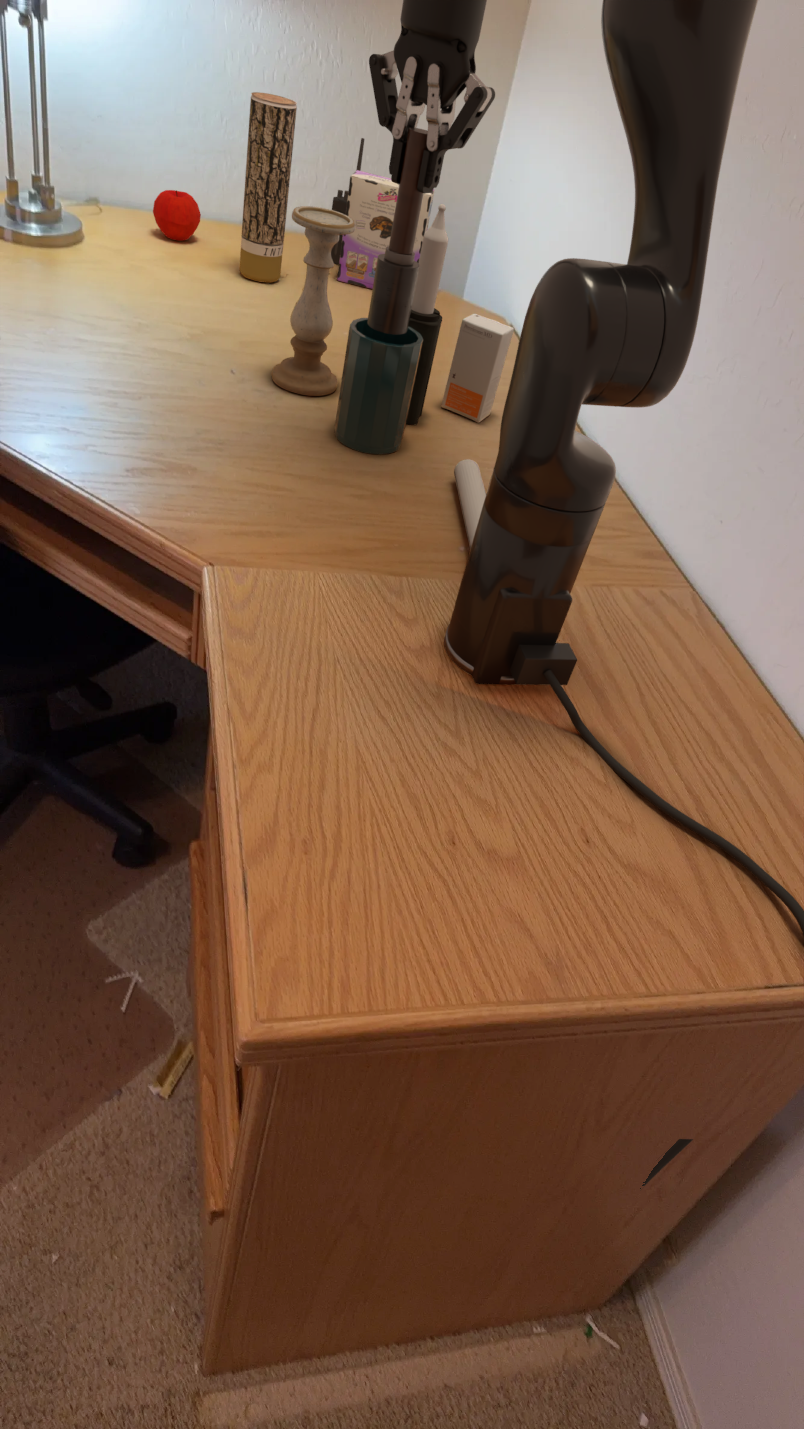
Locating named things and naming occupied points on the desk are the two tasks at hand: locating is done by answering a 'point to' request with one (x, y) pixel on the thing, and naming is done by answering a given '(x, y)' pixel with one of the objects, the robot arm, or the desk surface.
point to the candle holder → (313, 305)
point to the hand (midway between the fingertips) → (412, 186)
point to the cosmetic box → (477, 367)
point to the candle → (427, 308)
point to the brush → (400, 248)
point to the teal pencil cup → (376, 388)
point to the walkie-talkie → (343, 208)
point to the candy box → (373, 226)
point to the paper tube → (266, 185)
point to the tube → (470, 494)
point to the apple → (176, 214)
